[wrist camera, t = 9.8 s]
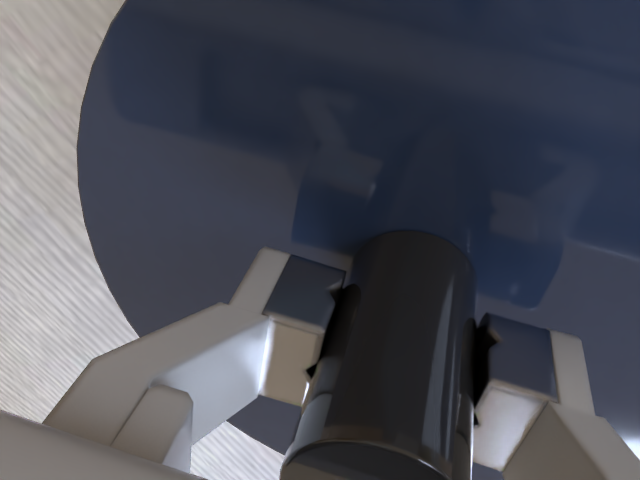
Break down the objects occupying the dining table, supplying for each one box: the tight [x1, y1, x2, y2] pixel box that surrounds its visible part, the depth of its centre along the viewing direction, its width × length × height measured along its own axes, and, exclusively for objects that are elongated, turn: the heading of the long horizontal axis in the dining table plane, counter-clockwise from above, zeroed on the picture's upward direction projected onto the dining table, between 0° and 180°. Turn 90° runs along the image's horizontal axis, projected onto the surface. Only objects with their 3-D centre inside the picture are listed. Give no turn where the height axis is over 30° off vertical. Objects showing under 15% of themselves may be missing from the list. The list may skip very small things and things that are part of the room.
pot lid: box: [77, 0, 640, 480], centre depth 9 cm, size 14×14×6 cm
